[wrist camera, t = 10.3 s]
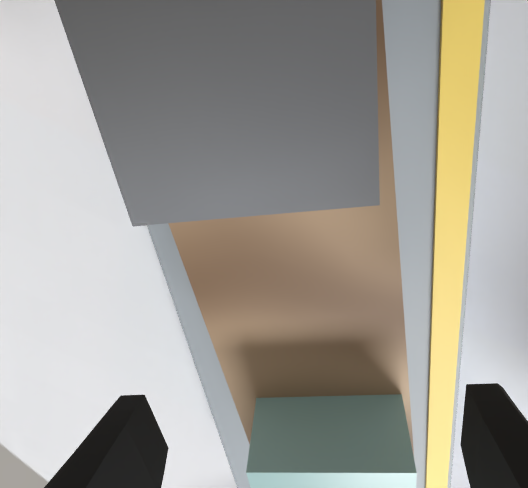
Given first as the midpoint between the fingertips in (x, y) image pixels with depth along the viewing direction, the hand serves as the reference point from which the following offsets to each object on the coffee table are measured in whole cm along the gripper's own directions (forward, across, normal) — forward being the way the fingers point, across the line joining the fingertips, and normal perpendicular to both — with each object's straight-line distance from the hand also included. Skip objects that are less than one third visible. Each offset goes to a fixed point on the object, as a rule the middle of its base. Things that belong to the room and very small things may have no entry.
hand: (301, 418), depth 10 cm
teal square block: (+3, 0, +5) cm, 6 cm away
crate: (+3, 0, -7) cm, 8 cm away
